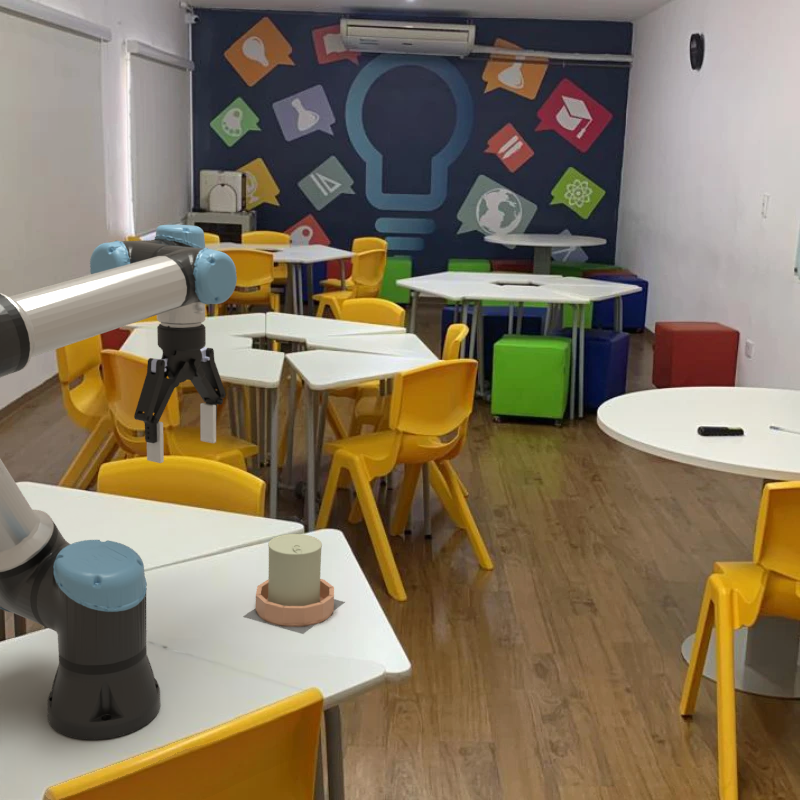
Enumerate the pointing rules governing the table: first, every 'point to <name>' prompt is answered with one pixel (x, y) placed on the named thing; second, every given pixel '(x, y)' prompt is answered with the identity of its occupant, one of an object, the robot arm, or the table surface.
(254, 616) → the mat
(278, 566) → the can
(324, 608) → the bowl
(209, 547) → the table surface
